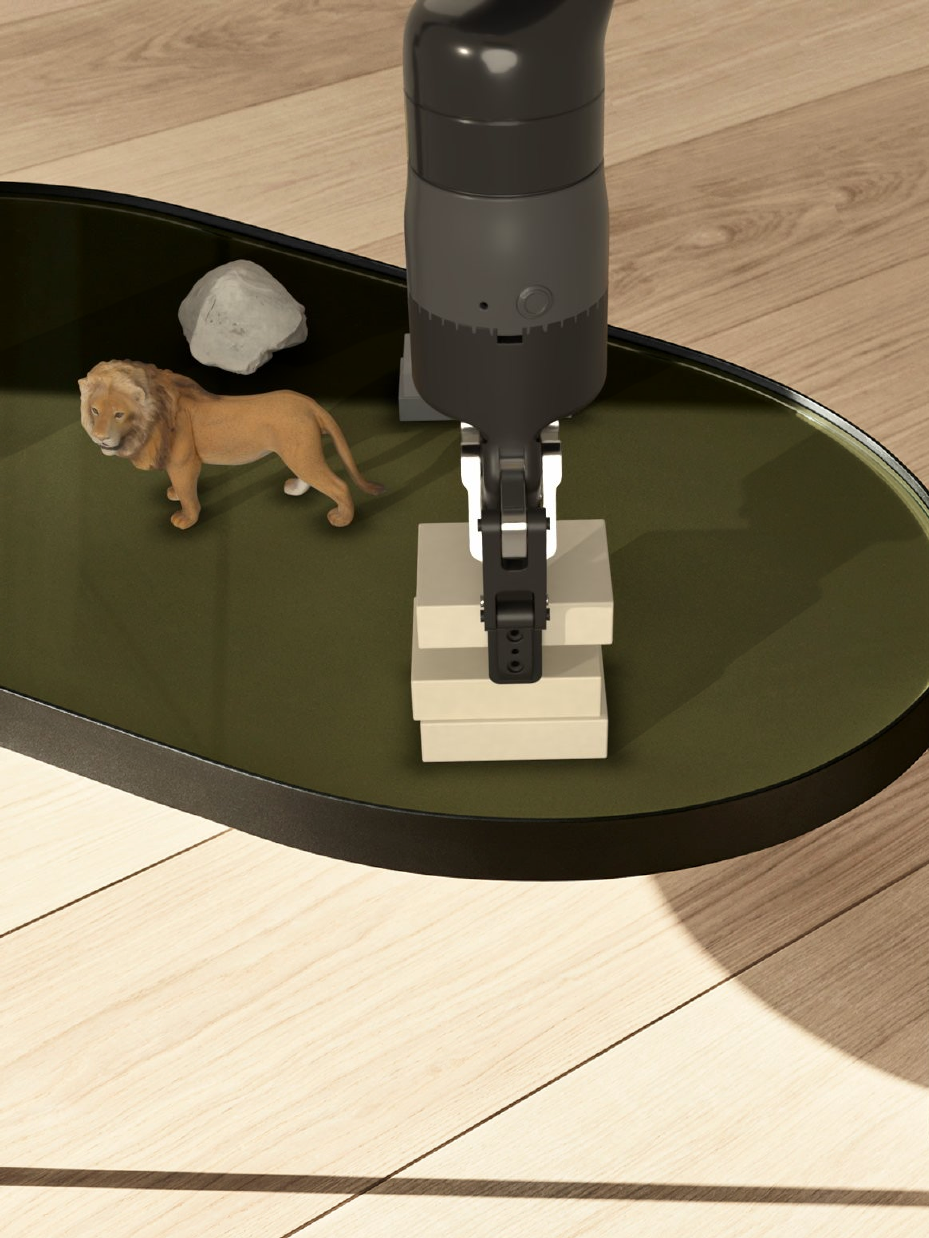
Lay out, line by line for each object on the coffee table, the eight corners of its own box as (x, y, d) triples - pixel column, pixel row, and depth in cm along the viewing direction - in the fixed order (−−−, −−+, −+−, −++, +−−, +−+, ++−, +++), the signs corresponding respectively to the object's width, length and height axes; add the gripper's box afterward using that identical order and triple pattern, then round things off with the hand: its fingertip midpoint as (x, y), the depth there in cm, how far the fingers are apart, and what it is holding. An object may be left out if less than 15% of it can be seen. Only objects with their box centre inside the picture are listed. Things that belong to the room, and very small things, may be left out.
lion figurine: (98, 551, 92) (69, 395, 86) (102, 493, 96) (74, 340, 91) (390, 526, 94) (381, 370, 88) (382, 469, 98) (372, 317, 92)
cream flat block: (418, 649, 76) (415, 606, 74) (420, 564, 80) (418, 522, 79) (612, 644, 76) (613, 602, 74) (603, 560, 80) (604, 518, 79)
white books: (415, 763, 80) (410, 684, 77) (418, 672, 84) (414, 595, 82) (607, 758, 80) (609, 680, 77) (599, 668, 84) (600, 591, 82)
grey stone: (343, 335, 109) (337, 257, 106) (273, 399, 103) (264, 319, 100) (220, 307, 112) (210, 230, 109) (145, 368, 106) (133, 289, 103)
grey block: (399, 421, 101) (397, 373, 100) (401, 380, 105) (399, 333, 103) (577, 418, 101) (577, 370, 100) (573, 376, 105) (574, 329, 103)
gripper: (410, 192, 74) (428, 537, 84) (401, 372, 63) (423, 743, 73) (597, 187, 74) (591, 533, 85) (621, 366, 63) (611, 738, 73)
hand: (513, 629), depth 79 cm, fingers closed on cream flat block, 6 cm apart
